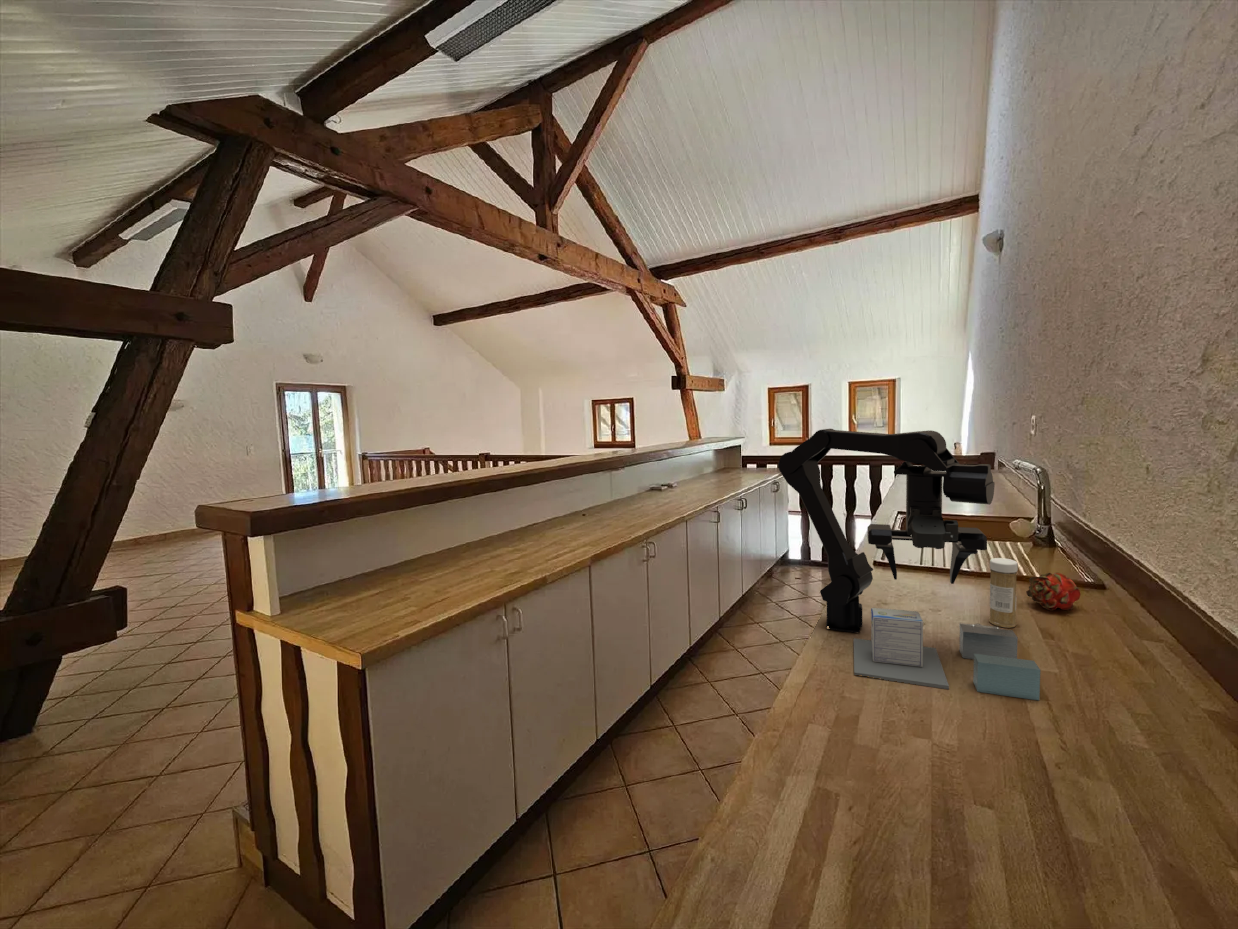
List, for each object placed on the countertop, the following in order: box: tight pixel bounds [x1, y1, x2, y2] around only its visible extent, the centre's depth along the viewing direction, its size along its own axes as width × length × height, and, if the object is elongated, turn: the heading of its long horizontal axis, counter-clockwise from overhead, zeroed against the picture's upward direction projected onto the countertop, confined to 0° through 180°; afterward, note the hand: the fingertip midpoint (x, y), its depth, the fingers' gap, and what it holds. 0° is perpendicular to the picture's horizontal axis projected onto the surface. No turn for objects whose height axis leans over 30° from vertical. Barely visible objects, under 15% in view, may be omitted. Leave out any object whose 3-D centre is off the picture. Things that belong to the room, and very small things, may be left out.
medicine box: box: [870, 607, 924, 667], centre depth 93 cm, size 8×4×9 cm, turn 68°
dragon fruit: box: [1026, 572, 1081, 612], centre depth 113 cm, size 8×8×12 cm
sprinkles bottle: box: [988, 557, 1019, 629], centre depth 106 cm, size 5×5×14 cm
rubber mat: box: [853, 637, 950, 690], centre depth 93 cm, size 14×14×1 cm
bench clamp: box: [958, 622, 1041, 701], centre depth 91 cm, size 8×21×5 cm, turn 156°
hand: (923, 581), depth 97 cm, fingers open, 9 cm apart
